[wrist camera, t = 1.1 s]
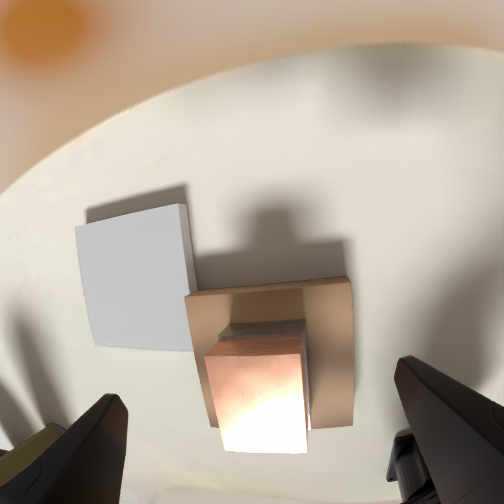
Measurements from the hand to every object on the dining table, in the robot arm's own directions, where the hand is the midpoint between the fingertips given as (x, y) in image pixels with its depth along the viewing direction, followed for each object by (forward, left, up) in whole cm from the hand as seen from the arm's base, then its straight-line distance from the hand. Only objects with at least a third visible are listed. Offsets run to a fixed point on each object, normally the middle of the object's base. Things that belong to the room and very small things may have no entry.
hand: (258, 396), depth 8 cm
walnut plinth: (-4, +2, -13) cm, 14 cm away
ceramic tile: (+2, +13, -13) cm, 18 cm away
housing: (-4, +2, -10) cm, 11 cm away
